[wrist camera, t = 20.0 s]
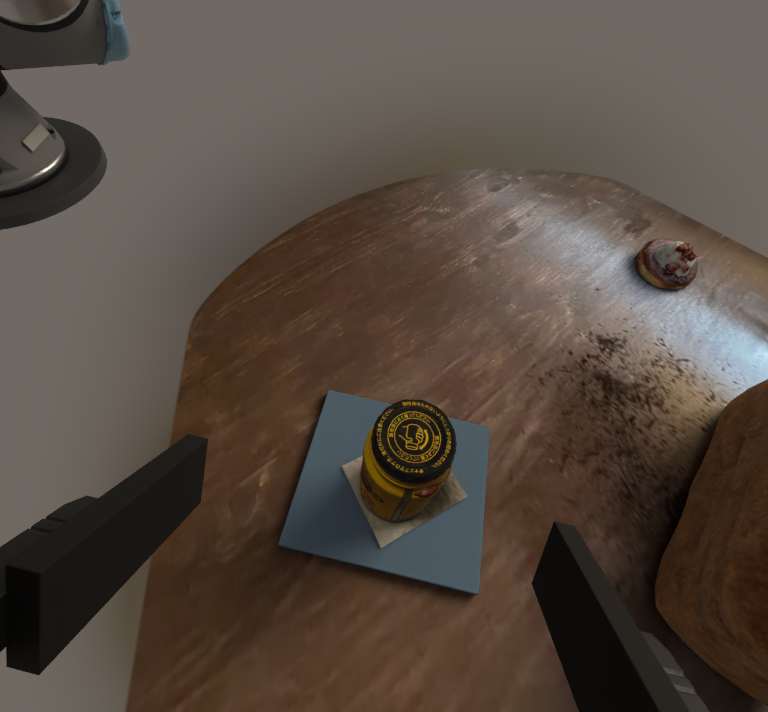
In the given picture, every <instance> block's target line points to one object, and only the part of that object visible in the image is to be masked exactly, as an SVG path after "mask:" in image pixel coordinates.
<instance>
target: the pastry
mask: <svg viewBox="0 0 768 712" xmlns="http://www.w3.org/2000/svg"><path fill="white" fill-rule="evenodd" d="M696 257H697V256H696V255H695V253H694V252H693V245H691V244H690V243H683V242H680V241H677V242H676V241H674V240H671V239H655V240H653V241H650V242H648V243H647V244H645V245H644V247H643V248H642V249H641V250H640V252H639V253H638V254H637V258H636V269H637V271H638V273H639V274H640V275H641V276H642V277H643V278H644V279H645V281H646V282H648V283H650V284H652V285H654V286H656V287H658V288H665V289H672V290H680V289H682V288H684V287H686V286H688V285H689V284H690V283H691V282H692V280H693V279H694V278H695V276H696V273H697V269H698V265H697V258H696Z"/></svg>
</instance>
